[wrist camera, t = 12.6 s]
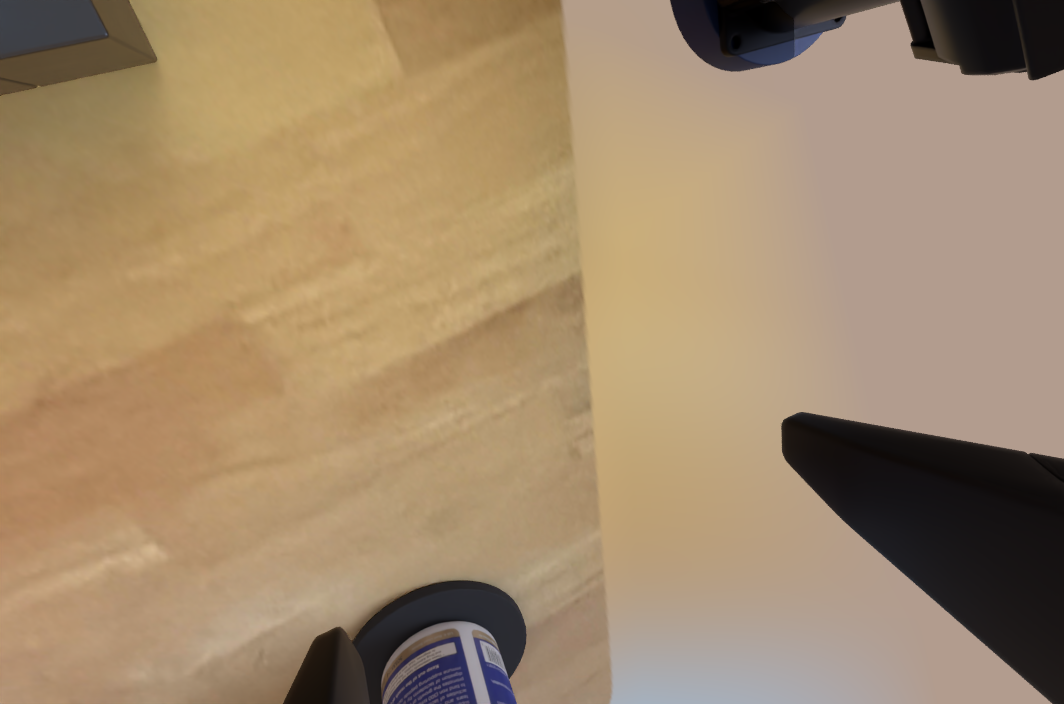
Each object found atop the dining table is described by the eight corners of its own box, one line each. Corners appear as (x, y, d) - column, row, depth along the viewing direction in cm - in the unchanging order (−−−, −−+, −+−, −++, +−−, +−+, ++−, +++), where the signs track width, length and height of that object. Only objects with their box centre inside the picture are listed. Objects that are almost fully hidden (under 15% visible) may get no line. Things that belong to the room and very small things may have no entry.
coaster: (497, 551, 25) (501, 559, 24) (540, 663, 28) (543, 673, 28) (311, 638, 23) (310, 649, 22) (383, 745, 27) (384, 757, 26)
